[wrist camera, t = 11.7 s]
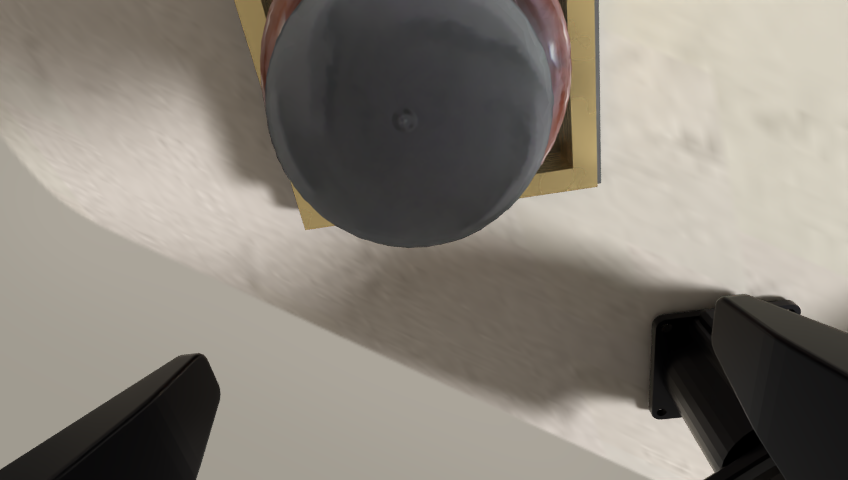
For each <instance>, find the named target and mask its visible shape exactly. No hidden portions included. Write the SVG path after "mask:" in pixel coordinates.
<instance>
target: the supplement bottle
mask: <svg viewBox="0 0 848 480" xmlns="http://www.w3.org/2000/svg"><path fill="white" fill-rule="evenodd" d="M571 72H572V61H571V43H570V37H569V34H568V31H567V23H566V21H565V18H564V14H563V11H562V8H561V6H560V3H559V1H558V0H272V3H271V5H270V8H269V11H268V15H267V19H266V23H265V27H264V31H263V36H262V40H261V53H260V75H261V88H262V93H263V99H264V103H265V108H266V115H267V123H268V128H269V133H270V137H271V141H272V144H273V147H274V149H275V151H276V155H277V158H278V160H279V162H280V163H281V165H282V168H283V170H284V172H285V174H286V175H287V177H288V178H289V180H290V181H291V182H292V184H293V186H294V187H295V188H296V190H297V191H298V192H299V194H300V195H301V196H302V198H303V199H304V200H305V201H307V202H308V203H309V204H310V205H311V206H312V208H313V209H315V210H316V211H317V212H318V213H319V214H320V215H321V216H322V217H323V218H325V219H326V220H328V221H329V222H330V223H332V224H334V225H335V226H337V227H339V228H341V229H343V230H345V231H347V232H349V233H351V234H353V235H355V236H357V237H358V238H361V239H365V240H369V241H372V242H375V243H378V244H383V245H387V246H394V247H406V248H414V247H429V246H435V245H441V244H444V243H448V242H453V241H456V240H459V239H462V238H465V237H467V236H469V235H471V234H473V233H475V232H477V231H479V230H481V229H482V228H484V227H485V226H487V225H488V224H490V223H491V222H492V221H494V220H495V219H497V218H498V217H499V216H500V215H502V214H503V213H504V212H505V211H506V210H508V209H509V208H510V207H511V206H512V205H513V204H514V203H515V201H517V200H518V199H519V197H520V196H521V195H522V194H523V192H524V191H525V190H526V188H527V187H528V186H529V184H530V182H531V181H532V179H533V177H534V176H535V174H536V172H537V171H538V169H539V168H540V166H541V165H542V164H543V162H544V160H545V157H546V156H547V154H548V153H549V151H550V150H551V148H552V146H553V145H554V142H555V139H556V137H557V134H558V132H559V129H560V127H561V125H562V122H563V119H564V116H565V112H566V108H567V104H568V101H569V95H570V87H571Z"/></svg>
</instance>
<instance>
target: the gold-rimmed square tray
mask: <svg viewBox="0 0 848 480" xmlns="http://www.w3.org/2000/svg"><path fill="white" fill-rule="evenodd" d="M234 1H235V5H236V8H237V11H238V14H239V17H240V21H241V24H242V27H243V30H244V34H245V37H246V40H247V43H248V47H249V50H250V53H251V56H252V59H253V63H254V66H255V69H256V72H257V76H258V79H259V82H260V85H261V75H260V53H261V40H262V36H263V31H264V27H265V23H266V19H267V15H268V11H269V8H270V5H271V3H272V0H234ZM558 1H559V3H560V6H561V8H562V11H563V14H564V18H565V21H566V23H567V31H568V34H569V37H570V43H571V61H572V72H571V87H570V95H569V101H568V104H567V108H566V112H565V116H564V119H563V122H562V125H561V127H560V129H559V132H558V134H557V137H556V139H555V142H554V145H553V146H552V148H551V150H550V151H549V153H548V154H547V156H546V157H545V160H544V162H543V164H542V165H541V166H540V168H539V169H538V171H537V172H536V174H535V176H534V177H533V179H532V181H531V182H530V184H529V186H528V187H527V188H526V190H525V191H524V192H523V194H522V195H521V196H520V197H519V198H524V197H531V196H538V195H545V194H551V193H558V192H565V191H572V190H578V189H585V188H592V187H597V184H599V183H601V145H600V68H599V0H558ZM290 182H291V181H290ZM291 185H292V188H293V192H294V195H295V198H296V201H297V205H298V208H299V211H300V214H301V218H302V221H303V224H304V227H305V230H309V229H316V228H322V227H329V226H335V225H334V224H332V223H330V222H329V221H328V220H326V219H325V218H323V217H322V216H321V215H320V214H319V213H318V212H317V211H316V210H315V209H313V208H312V206H311V205H310V204H309V203H308V202H307V201H305V200H304V199H303V198H302V196H301V195H300V194H299V192H298V191H297V190H296V188H295V187H294V186H293V184H292V182H291Z"/></svg>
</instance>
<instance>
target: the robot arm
mask: <svg viewBox="0 0 848 480" xmlns="http://www.w3.org/2000/svg"><path fill="white" fill-rule="evenodd" d="M800 314H801V309H800V308H799V306H798V305H796V304H795V303H794V302H793V301H791V300H780V301H772V302H765V301H763V300H760V299H758V298H755V297H753V296H750V295H746V294H740V295H731V296H722V297H720V298H719V299H718V300H717V302H716V305H715V308H713V309H705V310H697V311H689V312H681V313H672V314H664V315H660V316H658V317H657V318H655V320H654V321H653V324H652V346H651V370H650V394H649V410H650V412H651V414H652V416H653V417H654V418H656V419H670V418H680V417H683V419H684V421H685V423H686V424H687V426H688V428H689V429H690V431H691V433H692V434H693V436H694V438H695V440H696V441H697V443H698V445H699V446H700V448H701V450H702V452H703V453H704V455H705V457H706V458H707V460H708V462H709V464H710V465H711V467H712V469H713V470H714V472H715V473H713V474H712V475H710V476H709V477H707V478H705V479H704V480H848V333H846V332H843V331H841V330H838V329H835V328H833V327H830V326H828V325H825V324H822V323H820V322H817V321H815V320H812V319H810V318H807V317H804V316H802V315H800ZM664 324H668V325H667V326H665V327H662V326H663V325H664ZM219 401H220V388H219V385H218V383H217V380H216V378H215V376H214V373H213V371H212V369H211V367H210V364H209V362H208V360H207V358H206V357H205V356H204V355H203V354H200V353H196V354H186V355H180V356H178V357H176V358H174V359H173V360H171V361H170V362H168V363H167V364H165V365H164V366H162V367H160V368H159V369H157V370H156V371H154V372H153V373H151V374H149V375H148V376H146V377H145V378H143V379H142V380H140V381H139V382H137V383H135V384H134V385H132V386H131V387H129V388H128V389H126V390H125V391H123V392H121V393H120V394H118V395H116V396H115V397H113V398H112V399H110V400H109V401H107V402H105V403H104V404H102V405H101V406H99V407H98V408H96V409H95V410H93V411H91V412H90V413H88V414H87V415H85V416H84V417H82V418H80V419H79V420H77V421H76V422H74V423H73V424H71V425H69V426H68V427H66V428H65V429H63V430H62V431H60V432H59V433H57V434H55V435H54V436H52V437H51V438H49V439H47V440H46V441H44V442H43V443H41V444H40V445H38V446H36V447H35V448H33V449H32V450H30V451H29V452H27V453H26V454H24V455H23V456H21V457H19V458H18V459H16V460H15V461H13V462H12V463H10V464H8V465H7V466H5V467H4V468H2V469H1V470H0V480H196V478H197V475H198V472H199V468H200V466H201V462H202V459H203V456H204V452H205V449H206V445H207V442H208V439H209V435H210V431H211V428H212V425H213V421H214V418H215V415H216V411H217V408H218V404H219ZM660 409H661V410H660Z"/></svg>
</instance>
